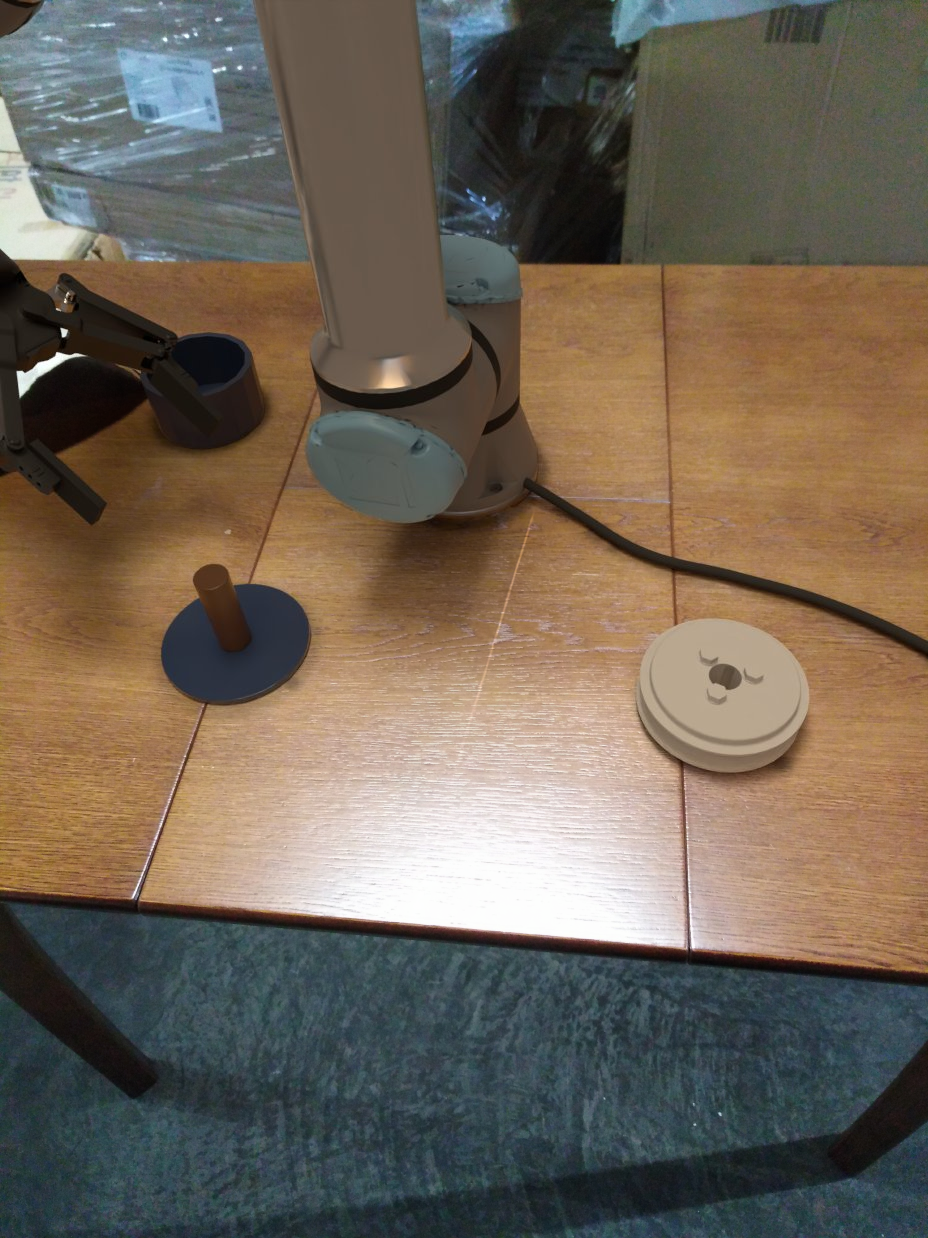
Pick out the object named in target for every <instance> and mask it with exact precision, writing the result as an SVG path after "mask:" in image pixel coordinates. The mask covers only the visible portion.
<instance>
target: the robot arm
mask: <svg viewBox="0 0 928 1238" xmlns="http://www.w3.org/2000/svg"><path fill="white" fill-rule="evenodd" d="M45 1H46V0H0V39H2V38H4V37H5V36H10V35H12V34H14V33H16V32H17V31H19V30H20V29H21V28H23V27H24V26H25V25H27V24H28V23H29V22H30V21H31V20H32V19H33V18H34V17H35V16H36V15H37V14H38V13H39V12H40V11H41V9H42V8H43V7H44V3H45ZM252 3H253V8H254V12H255V16H256V20H257V21H256V22H257V26H258V30H259V35H260V39H261V44H262V48H263V53H264V57H265V63H266V67H267V70H268V76H269V81H270V84H271V89H272V93H273V98H274V103H275V107H276V112H277V116H278V121H279V125H280V129H281V134H282V138H283V144H284V147H285V154H286V157H287V162H288V167H289V170H290V176H291V180H292V185H293V189H294V193H295V198H296V202H297V206H298V212H299V216H300V221H301V225H302V229H303V234H304V239H305V243H306V248H307V252H308V256H309V261H310V266H311V270H312V274H313V280H314V284H315V289H316V294H317V297H318V303H319V306H320V312H321V316H322V323H321V324H320V325H319V327H318V328H317V329H315V331H314V332H313V334H312V336H311V339H310V342H309V346H308V348H309V349H308V350H309V361H310V365H311V368H312V373H313V377H314V381H315V385H316V386H315V387H316V389H317V394H318V398H319V402H320V403H319V404H320V413H319V417H317V418H315V420H314V421H313V422H312V424H311V425H310V427H309V428H308V432H309V433H308V436H307V439H306V442H305V449H304V451H305V459H306V463H307V465H308V468H309V470H310V473H311V474H312V475H313V477H314V479H315V480H316V481H317V483H318V484H319V485H320V486H321V488H322V489H323V490H325V491H326V493H328V494H329V495H330V496H331V497H332V498H333V499H335V500H337V501H338V502H340V503H342V504H344V505H346V506H347V507H348V508H349V509H350V510H352V511H355V512H356V513H358V514H361V515H364V516H366V517H368V518H371V519H375V520H379V521H383V522H388V523H395V524H396V523H397V524H398V523H399V524H412V523H421V522H424V521H427V520H431V519H432V518H436V519H442V520H453V521H454V520H455V521H462V520H474V519H481V518H484V517H488V516H491V515H494V514H498V513H500V512H502V511H505V510H507V509H509V508H514V507H515V506H517V505H518V504H519V503H520V502H522V501H523V500H524V499H525V498H526V497H527V496H528V494H530V492H531V493H533V494H535V495H536V496H538V497H539V498H541V499H542V500H545V501H546V502H547V503H549V504H551V505H552V506H554V507H556V508H557V509H559V510H560V511H561V512H563V513H565V514H567V515H568V516H570V517H572V518H573V519H575V520H576V521H578V522H580V523H581V524H583V525H584V526H586V527H587V528H589V529H590V530H592V531H593V532H595V533H596V534H598V535H599V536H601V537H602V538H603V539H605V540H607V541H608V542H609V543H612V544H613V545H615V546H616V547H618V548H620V549H622V550H624V551H626V552H628V553H630V554H632V555H634V556H636V557H638V558H641V559H643V560H645V561H649V562H651V563H654V564H657V565H660V566H664V567H667V568H670V569H675V570H679V571H683V572H688V573H692V574H698V575H702V576H707V577H712V578H716V579H721V580H726V581H728V582H733V583H736V584H740V585H743V586H747V587H750V588H751V587H752V588H755V589H759V590H763V591H766V592H770V593H775V594H778V595H782V596H786V597H789V598H792V599H796V600H798V601H803V602H804V603H805V602H806V603H809V604H811V605H814V606H817V607H819V608H822V609H826V610H829V611H831V612H833V613H837V614H839V615H842V616H844V617H847V618H850V619H851V620H855V621H857V622H860V623H862V624H864V625H867V626H868V627H871V628H873V629H876V630H878V631H880V632H882V633H884V634H886V635H889V636H890V637H893V638H895V639H897V640H899V641H901V642H903V643H905V644H906V645H909V646H911V647H913V648H914V649H917V650H919V651H920V652H923V653H925V654H927V655H928V640H927V639H925V638H923V637H921V636H919V635H917V634H915V633H913V632H911V631H909V630H907V629H904V628H903V627H901V626H899V625H896V624H894V623H892V622H890V621H888V620H885V619H883V618H881V617H879V616H877V615H874V614H872V613H869V612H867V611H864V610H862V609H860V608H857V607H855V606H852V605H849V604H847V603H845V602H842V601H840V600H836V599H833V598H831V597H828V596H825V595H822V594H819V593H816V592H813V591H810V590H807V589H803V588H800V587H797V586H793V585H790V584H787V583H783V582H779V581H775V580H770V579H766V578H763V577H760V576H755V575H752V574H748V573H743V572H740V571H736V570H732V569H729V568H724V567H720V566H716V565H710V564H705V563H701V562H697V561H691V560H686V559H682V558H678V557H674V556H670V555H666V554H664V553H660V552H658V551H654V550H652V549H649V548H647V547H644V546H643V545H642V546H641V545H640V544H638V543H636V542H634V541H632V540H629V539H627V538H625V537H624V536H623V535H620V534H618V533H617V532H616V531H613V529H610V528H609V527H608V526H607V525H605V524H603V523H602V522H600V521H599V520H597V519H596V518H594V517H593V516H591V515H590V514H588V513H586V512H585V511H583V510H582V509H580V508H578V507H577V506H575V505H573V504H572V503H570V502H568V501H567V500H565V499H564V498H562V497H561V496H559V495H558V494H556V493H554V492H552V491H551V490H550V489H548V488H546V487H544V486H543V485H541V484H539V483H537V477H538V472H539V454H538V448H537V447H538V446H537V443H536V440H535V437H534V434H533V432H532V430H531V427H530V424H529V422H528V419H527V417H526V414H525V412H524V409H523V407H522V404H521V337H522V336H521V334H522V333H521V331H522V328H521V327H522V326H521V325H522V321H521V320H522V298H523V296H524V290H523V288H522V282H521V270H520V265H519V262H518V260H517V258H516V257H515V256H514V254H512V252H511V251H510V250H509V249H507V248H505V247H503V246H501V244H498V242H497V243H496V242H494V241H492V240H489V239H486V238H481V237H477V236H470V235H459V234H441V233H440V223H439V222H440V221H439V212H438V204H437V193H436V184H435V183H436V182H435V173H434V164H433V153H432V143H431V135H430V134H431V133H430V125H429V114H428V105H427V103H428V102H427V94H426V83H425V75H424V65H423V55H422V44H421V34H420V25H419V15H418V6H417V5H418V4H417V0H252ZM62 329H63V330H66V331H67V332H66V335H65V336H63V332H62ZM178 338H179V336H178V334H177V333H175V332H174V331H173V330H171V329H168V328H166V327H165V326H163V325H160V324H158V323H157V322H154V321H152V320H150V319H148V318H146V317H144V316H142V315H141V314H138V313H136V312H134V311H132V310H130V309H129V308H126V307H124V306H122V305H120V304H117V303H116V302H114V301H112V300H109V299H108V298H106V297H103V296H102V295H99V294H97V293H95V291H91V290H90V289H88V287H86V286H85V285H83V284H82V283H81V282H80V281H79V280H78V279H76V278H75V277H74V276H72V275H71V274H70V273H67V272H62V273H60V274H59V275H58V278H57V280H56V283H55V284H54V285H53V286H52V287H50V288H48V289H47V290H46V291H44V290H43V289H40V288H37V287H36V286H34V285H33V284H31V283H30V282H29V280H28V279H27V278H26V276H25V274H24V272H23V271H22V269H21V268H20V266H19V265H18V264H17V263H16V262H15V261H14V260H13V259H12V258H11V257H10V256H9V255H8V254H7V253H5V251H4V250H2V248H0V469H1V470H3V471H4V472H7V473H12V472H15V471H16V472H17V473H18V474H19V475H20V476H22V477H23V478H24V479H25V480H26V481H27V482H28V483H30V485H32V486H33V487H34V488H35V489H36V490H37V491H38V492H39V493H40V494H43V495H45V496H47V497H49V496H51V495H52V494H53V493H55V495H57V496H58V497H59V498H60V499H61V500H62V501H63V502H64V503H65V504H66V505H68V506H69V507H70V508H71V509H72V510H73V511H74V512H75V513H76V514H78V516H80V517H81V518H82V519H83V521H85V522H86V523H87V524H88V525H90V527H92V526H93V525H95V524H97V523H98V522H99V521H100V519H101V517H102V515H103V513H104V511H105V509H106V507H107V505H108V502H107V501H106V500H105V499H104V498H103V497H101V495H100V494H98V493H97V492H96V491H95V490H94V489H93V488H92V487H91V486H90V485H88V483H87V482H86V481H84V480H83V479H82V478H81V477H80V476H79V475H77V473H76V472H74V471H73V469H71V468H70V467H69V466H68V465H67V464H66V463H64V461H63V460H62V459H60V458H59V457H58V456H57V455H56V454H55V453H54V452H53V451H52V450H50V448H48V446H47V445H45V443H43V442H42V441H41V440H40V439H39V438H36V439H35V440H33V441H32V442H30V443H29V444H28V446H27V445H26V439H25V430H24V423H23V413H22V405H21V404H22V403H21V397H20V388H19V379H18V372H23V373H24V374H26V373H28V372H30V371H32V370H33V369H34V368H35V367H36V366H37V365H38V364H40V363H44V362H48V361H50V360H51V359H53V358H55V357H56V355H57V353H58V354H61V355H66V356H72V355H75V354H76V355H77V354H78V355H82V356H85V357H89V358H91V359H96V360H100V361H103V362H107V363H110V364H114V365H117V366H122V367H125V368H128V369H131V370H136V371H140V372H141V371H143V372H147V373H150V374H153V376H152V378H151V380H150V382H149V383H150V384H151V385H152V386H154V387H155V388H156V389H157V390H158V391H159V392H160V393H161V394H162V395H163V396H164V397H165V398H166V399H167V400H168V401H169V402H170V403H171V404H172V405H173V406H174V407H175V408H177V409H178V410H179V411H180V412H181V413H182V414H183V415H184V416H185V417H186V418H187V419H188V420H189V421H190V422H191V423H192V424H193V425H194V426H195V427H196V428H197V429H199V430H200V431H201V432H202V433H203V434H204V435H205V436H206V437H207V438H210V437H211V436H212V435H214V433H215V431H216V430H217V428H218V427H219V425H220V423H221V422H222V420H223V418H224V417H225V416H223V415H222V414H221V413H220V412H219V411H218V410H217V409H216V408H215V407H214V406H213V405H212V404H211V403H210V402H209V401H208V400H207V399H206V398H205V397H204V396H203V395H202V394H201V393H200V392H199V391H198V390H197V389H198V387H199V386H198V384H197V383H196V381H195V380H194V379H193V378H192V377H190V375H189V374H188V373H186V371H185V370H184V369H183V368H182V367H181V366H180V365H179V364H178V363H176V362H175V361H174V359H173V358H172V355H171V354H172V351H173V349H174V347H175V345H176V343H177V341H178ZM148 357H151V358H148Z"/></svg>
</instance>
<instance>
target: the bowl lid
mask: <svg viewBox="0 0 928 1238" xmlns="http://www.w3.org/2000/svg"><path fill="white" fill-rule="evenodd" d="M192 584H193V587H194V588H195V591H196V593H197V596H198V598H196V599H194V600H193V601H192V602H190V603H189V604H188V605H186V606H185V607H184V608H183V609H182V610H181V611H180V612H178V614H177V615H176V616H175V617H174V619H173V620H172V621H171V623H170V624H169V625H168V627H167V629H166V631H165V633H164V636H163V638H162V639H163V640H162V642H161V648H160V659H161V665H162V668H163V672H164V673H165V675H166V677H167V679H168V680H169V682H170V683H171V685H172V686H173V687H174V688H175V689H176V690H177V691H178V692H179V693H181V694H182V695H184V696H186V697H188V698H190V699H192V700H195V701H197V702H201V703H204V704H209V705H222V706H223V705H224V706H225V705H236V704H242V703H247V702H250V701H253V700H256V699H258V698H261V697H263V696H265V695H268V694H270V693H271V692H274V691H275V690H276V689H277V688H279V687H280V686H282V685H283V684H284V683H286V682H287V681H288V680H289V679H290V678H291V677H292V676H293V675H294V674H295V673H296V672H297V671H298V669H299V668H300V666H301V665H302V664H303V662H304V660H305V658H306V656H307V653H308V651H309V647H310V642H311V627H310V626H311V625H310V623H309V620H308V616H307V614H306V612H305V610H304V608H303V606H301V604H300V603H299V602H298V601H297V600H296V599H295V598H294V597H292V596H291V595H290V594H289V593H287V592H285V591H283V590H281V589H279V588H276V587H273V586H270V585H267V584H266V585H265V584H260V583H259V584H258V583H240V584H234V582H233V580H232V578H231V575H230V572H229V570H228V568H227V567H225V566H224V565H222V564H221V563H209V564H205V565H203V566H201V567H200V568H198V569H197V570H196V571H195V573H194V574H193V577H192Z"/></svg>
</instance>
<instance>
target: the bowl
mask: <svg viewBox="0 0 928 1238" xmlns="http://www.w3.org/2000/svg"><path fill="white" fill-rule="evenodd" d="M171 355H172V358H173V359H174V361H175V362H176V363H178V364H179V365H180V366H181V367H182V368H183V369H184V370H185V371H186V373H188V374H189V375H190V377H192V378H193V379H194V380H195V381H196V383H197V384H198V386H199V387H198V389H197V390H198V391H199V392H200V393H201V394H202V395H203V396H204V397H205V398H206V399H207V400H208V401H209V402H210V403H211V404H212V405H213V406H214V407H215V408H216V409H217V410H218V411H219V412H220V413H221V414H222V415H223V416H225V417H224V418H223V420H222V422H221V423H220V425H219V427H218V428H217V430H216V431H215V433H214V435H212V436H211V437H210V438H207V437H206V436H205V435H204V434H203V433H202V432H201V431H200V430H199V429H197V428H196V427H195V426H194V425H193V424H192V423H191V422H190V421H189V420H188V419H187V418H186V417H185V416H184V415H183V414H182V413H181V412H180V411H179V410H178V409H177V408H175V407H174V406H173V405H172V404H171V403H170V402H169V401H168V400H167V399H166V398H165V397H164V396H163V395H162V394H161V393H160V392H159V391H158V390H157V389H156V388H155V387H154V386H152V385H151V384H150V383H149V382H150V380H151V378H152V376H153V374H150V373H147V372H143V371H140V372H139V374H140V375H139V380H140V382H141V385H142V387H143V390H144V393H145V395H146V398H147V400H148V403H149V405H150V408H151V411H152V413H153V416H154V418H155V422H156V424H157V425H158V427H159V429H160V431H161V434H162V436H164V438H165V439H166V440H167V441H169V442H171V444H172V443H173V444H174V445H176V446H179V447H182V448H187V449H193V450H206V449H214V448H215V449H216V448H219V447H222V446H223V447H224V446H227V445H229V444H232V443H235V442H237V441H239V440H241V439H243V438H244V437H246V436H247V435H249V434H250V433H252V432H253V431H254V430H255V429H256V428H257V427H258V425H259V424H260V423H261V422H262V419H263V418H264V414H265V409H266V407H265V400H264V399H265V398H264V394H263V391H262V390H263V389H262V386H261V383H260V379H259V376H258V375H259V374H258V371H257V368H256V365H255V361H254V360H255V359H254V357H253V353H252V351H251V349H250V348H249V347H248V344H246V343H245V341H244V340H242V339H240V338H238V337H236V336H234V335H231V334H228V333H221V332H212V331H207V332H206V331H205V332H198V333H188V334H186V335H183V336H178V341H177V343H176V345H175V347H174V349H173V351H172V354H171ZM148 358H151V357H148Z"/></svg>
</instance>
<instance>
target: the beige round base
mask: <svg viewBox="0 0 928 1238" xmlns="http://www.w3.org/2000/svg"><path fill="white" fill-rule="evenodd" d="M635 698H636V699H635V700H636V701H635V702H636V707H637V711H638V714H639V716H640V719H641V722H642V724H643V725H644V727H645V729H646V731H647V732H648V733H649V735H650V736H651V738H652V739H654V741H655V742H657V744H658V745H660V747H661V748H662V749H664V750H665V751H667V752H668V753H669V754H671V755H672V756H673V757H675V758H677V759H679V760H680V761H682V762H684V763H687V764H689V765H691V766H693V767H695V768H700V769H702V770H707V771H712V772H716V773H717V772H719V773H743V772H748V771H754V770H757V769H760V768H763V767H765V766H767V765H769V764H771V763H773V762H775V761H776V760H778V759H779V758H781V757H782V756H783V755H785V753H786V752H787V751H788V750H789V749H790V748H791V746H792V745H793V743H794V742H795V740H796V738H797V735H798V733H799V732H800V728H801V727H802V725H803V723H804V721H805V719H806V718H807V717H806V716H807V713H808V710H809V705H810V688H809V682H808V678H807V676H806V674H805V671H804V669H803V668H802V666H801V663H800V662H799V661H798V660H797V658H796V657H795V655H794V654H793V653H792V652H791V651H790V649H788V648H787V646H785V644H783V643H781V642H780V641H779V640H778V639H777V638H776V637H774V636H772V635H771V634H769V633H768V632H766V631H764V630H762V629H760V628H758V627H755V626H753V625H750V624H748V623H745V622H741V621H737V620H732V619H727V618H725V619H724V618H715V617H714V618H713V617H712V618H711V617H710V618H698V619H691V620H687V621H684V622H682V623H679V624H676V625H673V626H671V627H670V628H668V629H666V630H665V631H663V632H662V633H660V634H659V636H657V637H656V638H655V639H654V640H653V641H652V642H651V643H650V644H649V646H648V648H647V649H646V651H645V652H644V655H643V657H642V659H641V663H640V667H639V674H638V680H637V683H636V691H635Z"/></svg>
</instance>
